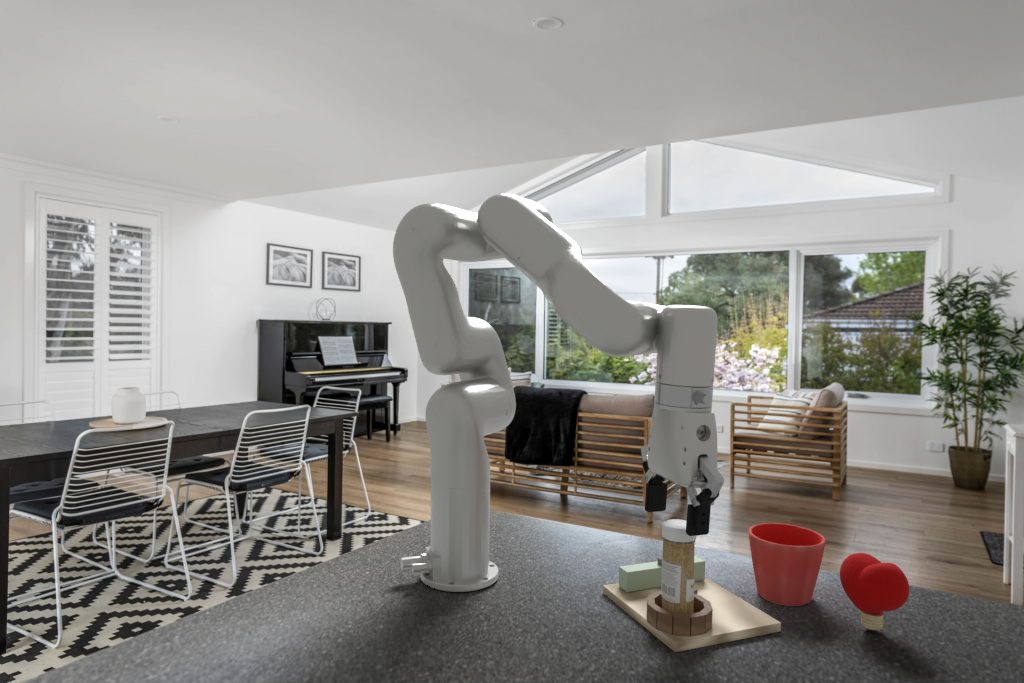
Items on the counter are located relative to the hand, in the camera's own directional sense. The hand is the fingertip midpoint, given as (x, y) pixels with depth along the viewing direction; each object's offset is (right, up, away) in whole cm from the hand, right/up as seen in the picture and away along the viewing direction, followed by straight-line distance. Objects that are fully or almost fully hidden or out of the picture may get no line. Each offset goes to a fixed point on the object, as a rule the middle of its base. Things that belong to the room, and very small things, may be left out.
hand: (675, 522), depth 91 cm
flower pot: (+20, -15, +12) cm, 27 cm away
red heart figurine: (+27, -15, +1) cm, 31 cm away
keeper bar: (+1, -13, +13) cm, 18 cm away
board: (+3, -15, +6) cm, 16 cm away
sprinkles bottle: (0, -14, 0) cm, 14 cm away
